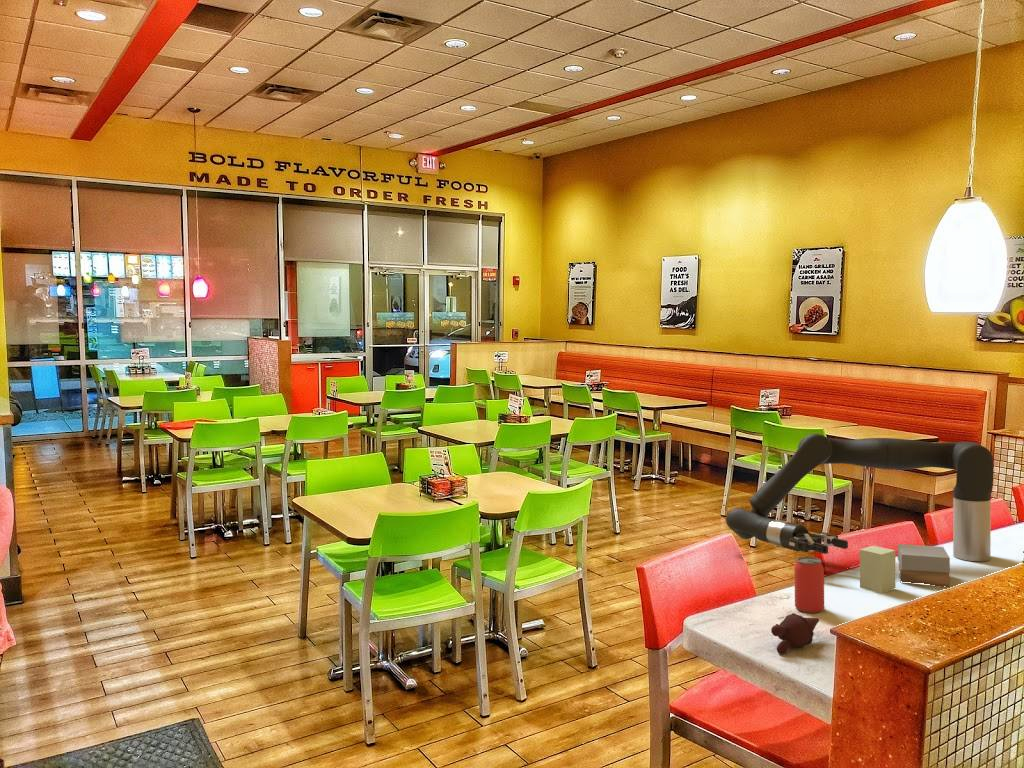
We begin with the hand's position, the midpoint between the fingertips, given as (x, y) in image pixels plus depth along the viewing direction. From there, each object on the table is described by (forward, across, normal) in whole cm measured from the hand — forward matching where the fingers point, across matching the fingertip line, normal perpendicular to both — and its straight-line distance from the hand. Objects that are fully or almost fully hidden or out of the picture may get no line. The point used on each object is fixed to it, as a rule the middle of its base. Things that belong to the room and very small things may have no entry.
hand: (837, 547), depth 205 cm
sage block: (+12, 0, +8) cm, 14 cm away
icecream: (+23, -47, +9) cm, 53 cm away
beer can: (+11, -26, +8) cm, 30 cm away
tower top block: (+14, +16, +4) cm, 22 cm away
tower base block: (+14, +16, +8) cm, 23 cm away
